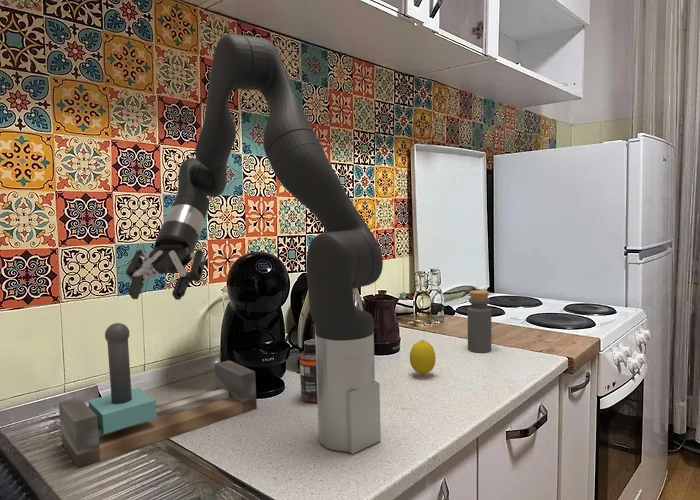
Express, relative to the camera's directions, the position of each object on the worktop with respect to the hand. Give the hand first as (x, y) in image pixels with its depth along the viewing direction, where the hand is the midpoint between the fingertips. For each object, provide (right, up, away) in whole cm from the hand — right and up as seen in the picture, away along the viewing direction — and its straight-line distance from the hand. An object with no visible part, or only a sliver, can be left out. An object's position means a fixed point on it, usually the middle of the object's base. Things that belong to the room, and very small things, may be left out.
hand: (154, 297), depth 90 cm
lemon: (+52, -19, +16) cm, 58 cm away
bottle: (+69, -17, +35) cm, 79 cm away
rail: (+4, -22, -5) cm, 23 cm away
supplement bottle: (+30, -20, +6) cm, 36 cm away
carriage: (-1, -19, -10) cm, 21 cm away
